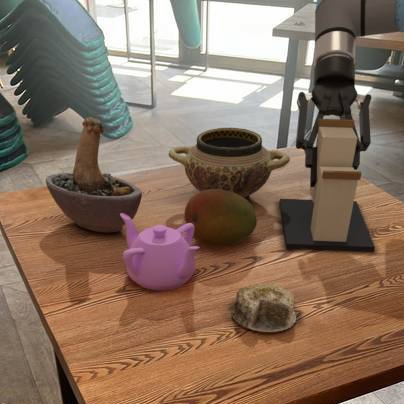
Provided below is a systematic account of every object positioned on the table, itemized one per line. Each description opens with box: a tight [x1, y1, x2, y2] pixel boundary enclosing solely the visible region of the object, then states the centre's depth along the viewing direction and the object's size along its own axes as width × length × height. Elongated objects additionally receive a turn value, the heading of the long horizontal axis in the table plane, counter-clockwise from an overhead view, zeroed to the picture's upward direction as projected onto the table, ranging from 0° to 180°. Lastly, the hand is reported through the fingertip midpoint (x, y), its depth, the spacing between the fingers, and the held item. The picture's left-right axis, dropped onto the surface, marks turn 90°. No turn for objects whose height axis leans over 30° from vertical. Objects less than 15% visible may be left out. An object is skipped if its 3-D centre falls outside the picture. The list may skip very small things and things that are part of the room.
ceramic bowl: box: [167, 127, 291, 202], centre depth 117 cm, size 24×18×15 cm
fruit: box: [184, 189, 258, 247], centre depth 103 cm, size 12×13×10 cm
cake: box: [231, 283, 297, 333], centre depth 86 cm, size 10×10×5 cm
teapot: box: [120, 213, 201, 291], centre depth 94 cm, size 12×14×9 cm
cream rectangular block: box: [309, 118, 357, 202], centre depth 105 cm, size 6×6×13 cm
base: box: [278, 167, 376, 253], centre depth 108 cm, size 16×20×14 cm
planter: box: [45, 116, 143, 234], centre depth 104 cm, size 15×17×20 cm
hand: (331, 184), depth 105 cm, fingers closed on cream rectangular block, 6 cm apart
